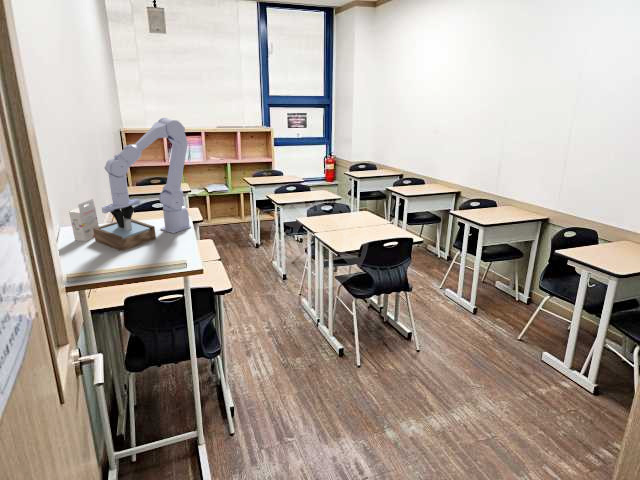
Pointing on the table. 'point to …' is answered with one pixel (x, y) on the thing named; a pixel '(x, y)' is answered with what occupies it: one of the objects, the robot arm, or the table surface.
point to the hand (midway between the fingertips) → (124, 226)
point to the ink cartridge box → (84, 221)
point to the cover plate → (127, 233)
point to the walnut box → (126, 243)
